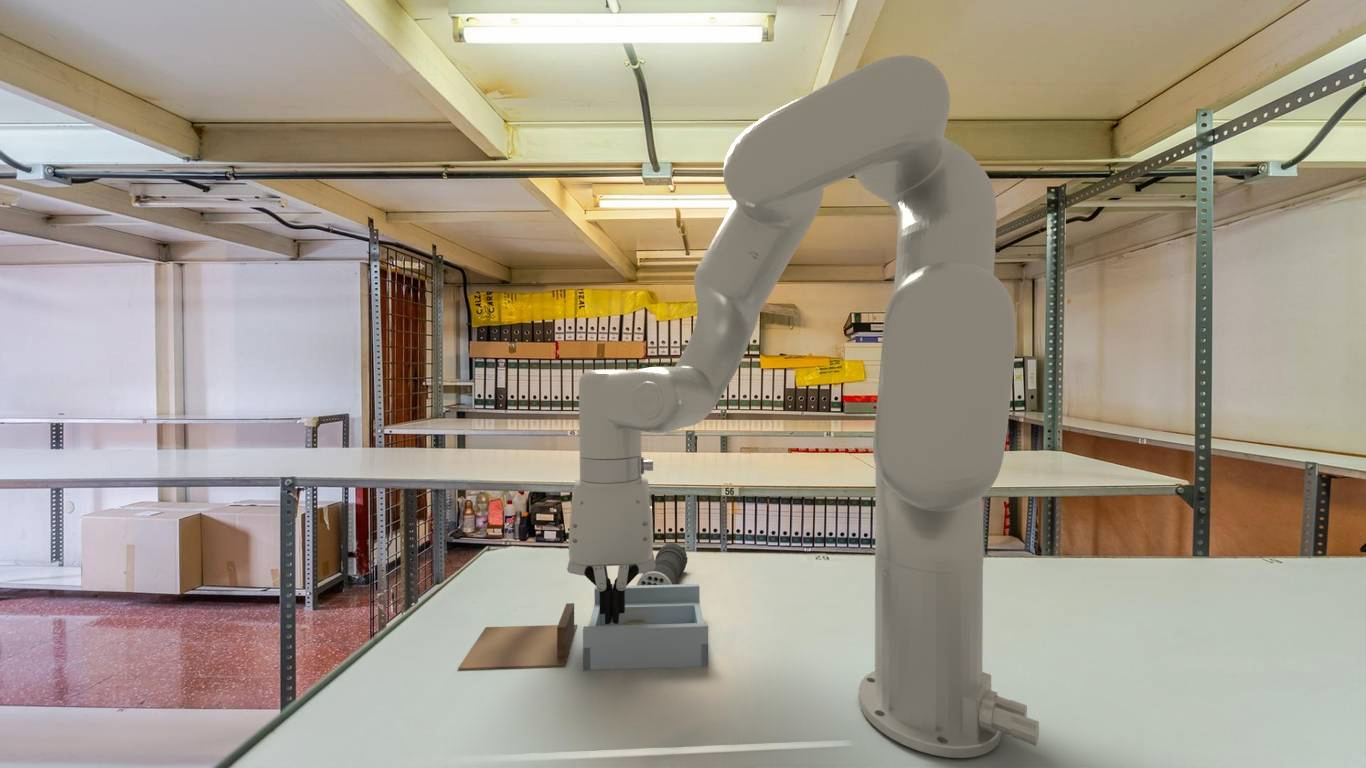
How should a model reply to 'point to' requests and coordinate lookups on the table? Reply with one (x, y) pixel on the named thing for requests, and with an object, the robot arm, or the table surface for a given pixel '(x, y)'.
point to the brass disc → (636, 623)
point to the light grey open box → (649, 631)
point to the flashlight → (666, 566)
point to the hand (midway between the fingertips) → (612, 618)
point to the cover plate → (523, 646)
